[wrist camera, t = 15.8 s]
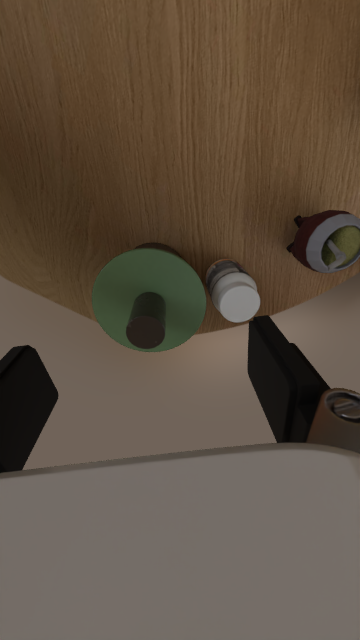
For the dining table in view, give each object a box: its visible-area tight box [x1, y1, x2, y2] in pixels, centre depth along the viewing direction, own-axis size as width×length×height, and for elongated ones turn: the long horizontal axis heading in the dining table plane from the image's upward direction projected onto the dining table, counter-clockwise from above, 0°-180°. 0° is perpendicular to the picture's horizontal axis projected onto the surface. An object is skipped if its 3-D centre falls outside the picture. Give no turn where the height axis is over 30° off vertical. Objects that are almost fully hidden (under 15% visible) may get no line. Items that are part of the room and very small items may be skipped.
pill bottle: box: [206, 259, 260, 322], centre depth 32 cm, size 6×6×10 cm
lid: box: [92, 248, 206, 352], centre depth 25 cm, size 13×13×7 cm
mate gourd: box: [287, 210, 360, 273], centre depth 27 cm, size 8×8×15 cm
